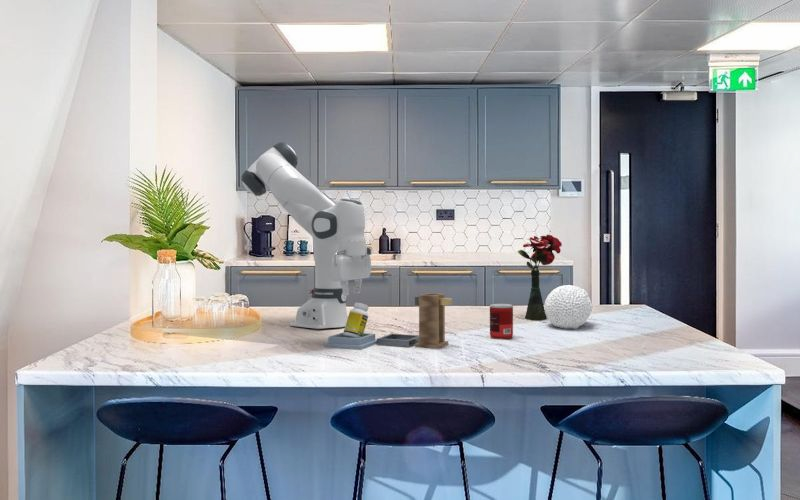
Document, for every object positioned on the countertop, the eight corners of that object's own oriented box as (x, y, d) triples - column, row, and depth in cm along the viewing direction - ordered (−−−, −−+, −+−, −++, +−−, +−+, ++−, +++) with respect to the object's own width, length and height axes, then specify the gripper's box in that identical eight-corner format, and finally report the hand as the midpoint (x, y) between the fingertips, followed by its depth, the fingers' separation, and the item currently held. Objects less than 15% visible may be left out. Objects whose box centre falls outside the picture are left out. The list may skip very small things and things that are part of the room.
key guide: (415, 346, 188) (415, 295, 188) (424, 342, 195) (424, 293, 195) (439, 348, 185) (439, 296, 185) (448, 344, 192) (448, 293, 192)
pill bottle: (359, 338, 188) (368, 304, 192) (340, 333, 190) (350, 300, 193) (363, 342, 194) (372, 309, 197) (345, 337, 196) (354, 304, 199)
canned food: (515, 336, 208) (515, 304, 208) (509, 339, 201) (509, 306, 200) (493, 334, 211) (493, 303, 211) (487, 338, 204) (486, 305, 204)
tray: (323, 346, 189) (323, 337, 189) (343, 340, 201) (343, 331, 201) (361, 349, 184) (361, 339, 184) (379, 342, 196) (379, 333, 196)
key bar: (414, 305, 190) (414, 296, 190) (419, 303, 194) (419, 295, 194) (448, 306, 186) (448, 298, 186) (452, 305, 189) (452, 296, 189)
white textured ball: (583, 334, 212) (583, 287, 212) (535, 330, 221) (535, 285, 221) (598, 327, 229) (598, 283, 228) (552, 323, 238) (552, 281, 238)
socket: (376, 345, 192) (376, 338, 192) (391, 339, 202) (391, 333, 202) (409, 347, 187) (409, 340, 187) (422, 341, 197) (422, 335, 197)
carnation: (509, 320, 248) (509, 234, 248) (550, 318, 252) (550, 234, 252) (525, 325, 233) (525, 234, 232) (569, 324, 237) (569, 234, 237)
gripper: (343, 250, 181) (344, 297, 181) (374, 249, 200) (374, 291, 200) (325, 251, 184) (326, 296, 184) (357, 249, 202) (357, 291, 203)
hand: (351, 294), depth 192 cm, fingers open, 6 cm apart
